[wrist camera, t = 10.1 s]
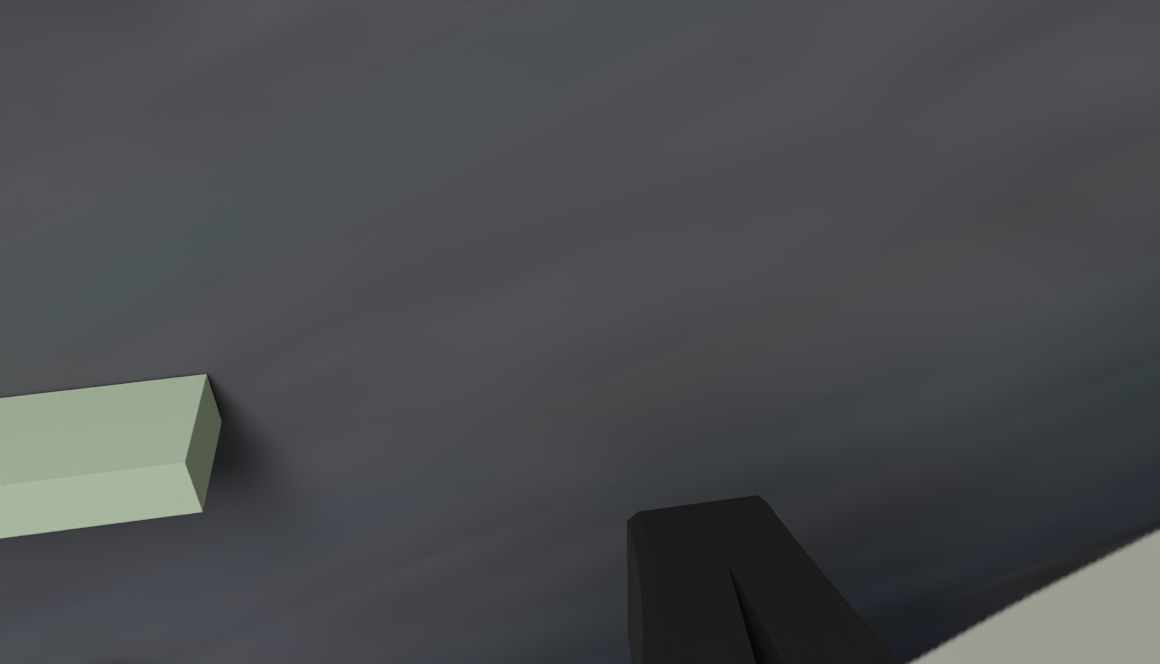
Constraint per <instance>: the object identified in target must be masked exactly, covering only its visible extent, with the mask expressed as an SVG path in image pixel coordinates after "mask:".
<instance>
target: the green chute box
mask: <svg viewBox="0 0 1160 664" xmlns="http://www.w3.org/2000/svg"><path fill="white" fill-rule="evenodd" d="M221 423H222V421H221V418H220V415H219V411H218V408H217V405H216V402H215V399H214V396H213V393H212V390H211V386H210V383H209V380H208V377H207V374H204V375H195V376H186V377H178V378H169V379H161V380H152V381H144V382H135V383H127V384H118V385H109V386H101V387H92V388H84V389H75V390H67V391H58V392H49V393H41V394H32V395H24V396H15V397H7V398H0V538H6V537H14V536H22V535H29V534H37V533H45V532H52V531H60V530H68V529H75V528H83V527H91V526H98V525H106V524H114V523H122V522H129V521H137V520H145V519H152V518H160V517H168V516H175V515H183V514H191V513H198V512H203V508H204V503H205V498H206V494H207V489H208V484H209V479H210V475H211V470H212V465H213V461H214V456H215V451H216V446H217V442H218V437H219V432H220V428H221Z"/></svg>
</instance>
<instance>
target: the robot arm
mask: <svg viewBox="0 0 1160 664" xmlns="http://www.w3.org/2000/svg"><path fill="white" fill-rule="evenodd" d="M627 569H628V639H629V645H630V651H631V657H632V664H902V662H901V661H900V660H899V659H898V658H897V657H896V656H895V655H894V654H893V653H892V652H891V650H890V649H889V648H888V647H887V646H886V645H885V644H884V643H883V642H882V641H881V640H880V638H879V637H878V636H877V635H876V634H875V633H874V632H873V631H872V630H871V629H870V628H869V626H868V625H867V624H866V623H865V622H864V621H863V620H862V618H861V617H860V616H859V615H858V614H857V613H856V612H855V611H854V609H853V608H852V607H851V606H850V605H849V604H848V602H847V601H846V600H845V599H844V598H843V597H842V595H841V594H840V593H839V592H838V591H837V589H836V588H835V587H834V586H833V585H832V584H831V582H830V581H829V580H828V579H827V578H826V576H825V575H824V574H823V573H822V572H821V570H820V569H819V568H818V567H817V566H816V564H815V563H814V562H813V561H812V559H811V558H810V557H809V556H808V555H807V553H806V552H805V551H804V550H803V548H802V547H801V546H800V545H799V543H798V542H797V541H796V540H795V538H794V537H793V536H792V534H791V533H790V532H789V531H788V529H787V528H786V527H785V526H784V524H783V523H782V522H781V520H780V519H779V518H778V516H777V515H776V514H775V513H774V511H773V510H772V509H771V507H770V506H769V505H768V503H767V502H765V501H764V500H763V499H761V498H760V497H759V496H750V497H743V498H735V499H728V500H721V501H713V502H706V503H699V504H691V505H684V506H677V507H669V508H662V509H655V510H647V511H640V512H637V513H636V514H635V515H634V516H633V517H632V518H630V519H629V520H628V521H627Z"/></svg>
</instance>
